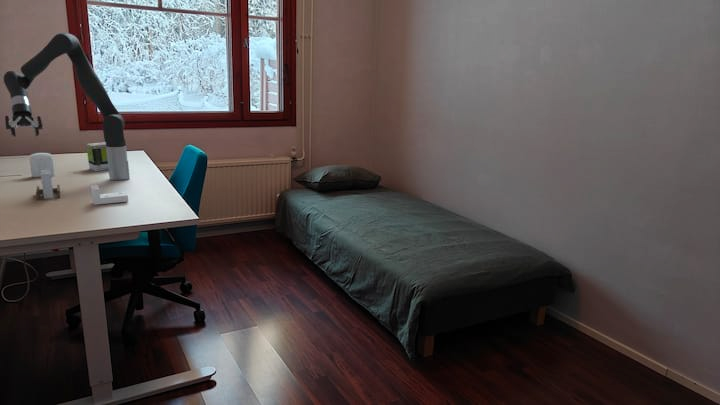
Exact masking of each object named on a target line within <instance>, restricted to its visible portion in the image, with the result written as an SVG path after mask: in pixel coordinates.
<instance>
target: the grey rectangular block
mask: <svg viewBox="0 0 720 405" xmlns="http://www.w3.org/2000/svg"><path fill="white" fill-rule="evenodd" d="M52 177H53V176H51V170H41V177H40V178H41V179H40V180H41V186H42V189H43V194H44V199H48V200H53V199H52V198H54V191H53V188H54V185H53V180H52V179H53V178H52Z"/></svg>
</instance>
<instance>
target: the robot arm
mask: <svg viewBox="0 0 720 405" xmlns="http://www.w3.org/2000/svg"><path fill="white" fill-rule="evenodd" d="M65 54H66V55H67V56H68V58H69V60H70V61H71V62H72V64H73V66H74V71H75V75H76V79H77V82H78V85H80V87H81V90H82V91H83V92H84V94H85V95H86V96H87V98H88V99H89V100H90V101H91V102H92V103H93V104H94V106H96V108H97V109H98V111H99V112H100V114H101V116H102V133H103V138H104V139H103V140H104V142H106V150H107V159H108V168H109V170H108V176H109V180H111V181H124V180H130V178H131V177H130V169H129V168H130V167H129V160H128V152H127V141H126V139H125V135H124V128H125V125H126V124H125V123H126V122H125V119H124V117H123V116H122V114H120V112H119V111H118V110H117V108H116V107H115V105H114V103H113V102H112V100H111V98H110V96H109V93H108V92H107V90H106V88H105V86H104V85H103V83H102V81H101V79H100V77H99V76H98V74H97V73H96V71H95V69H94V68H93V66H92V65H91V63H90V61H89V60H88V58H87V55H86V53H85V52H84V50H83V48H82V46H81V43H80V41H79V38H77V37H76V35H74V34H71V33H68V32H66V33H63V32H62V33H57V34H55V35H54V36H53V37H52V39H50V40H49V42H48V43H47V45H45V46H44V48H42V49H41V50H40V51H39V52H38V53H37V54H35V56H33V57H32V58H31V59H29V60H28V61H27V62H25V63H24V64H23V65H22V66H21V67H20V72H21V73H22V74H23V75H22V74H21V73H20V74H19V73H18V72H16V71H13V70H9V71H6V72H5V73H4V76H3V83H4V85H5V88H6V89H7V91H8V93H9V94H10V105H11V106H10V107H11V111H12V112H11V113H12V116H10V117H9V116H8V115H5V116H4V119H5V129H6V130H10V133H11V135H12V136H13V137H16V134H17V133H16V129H17V128H18V127H19V126H20V127H30V128H33V129H34V133H35V137H39V136H40V130H43V125H44V124H43V123H42V119H41V116H39V115H38V116H37V117H34V116H33V112H32V108H31V102H30V100H29V94H28V91H27V90H28V89H29V88H30V86H31V84H32V82H34V80H35V79H36V77H38V76H39V75H40V74H41V73H43V72H44V71H45V70H46V69H47V68H48V67H49V66H50V65H51V63H52V62H53V61H54V60H55V59H57V58H58V57H61V56H62V55H65ZM12 121H13V122H12ZM34 121H35V122H34ZM10 122H12V124H11V125H10ZM36 123H37V124H36Z"/></svg>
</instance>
